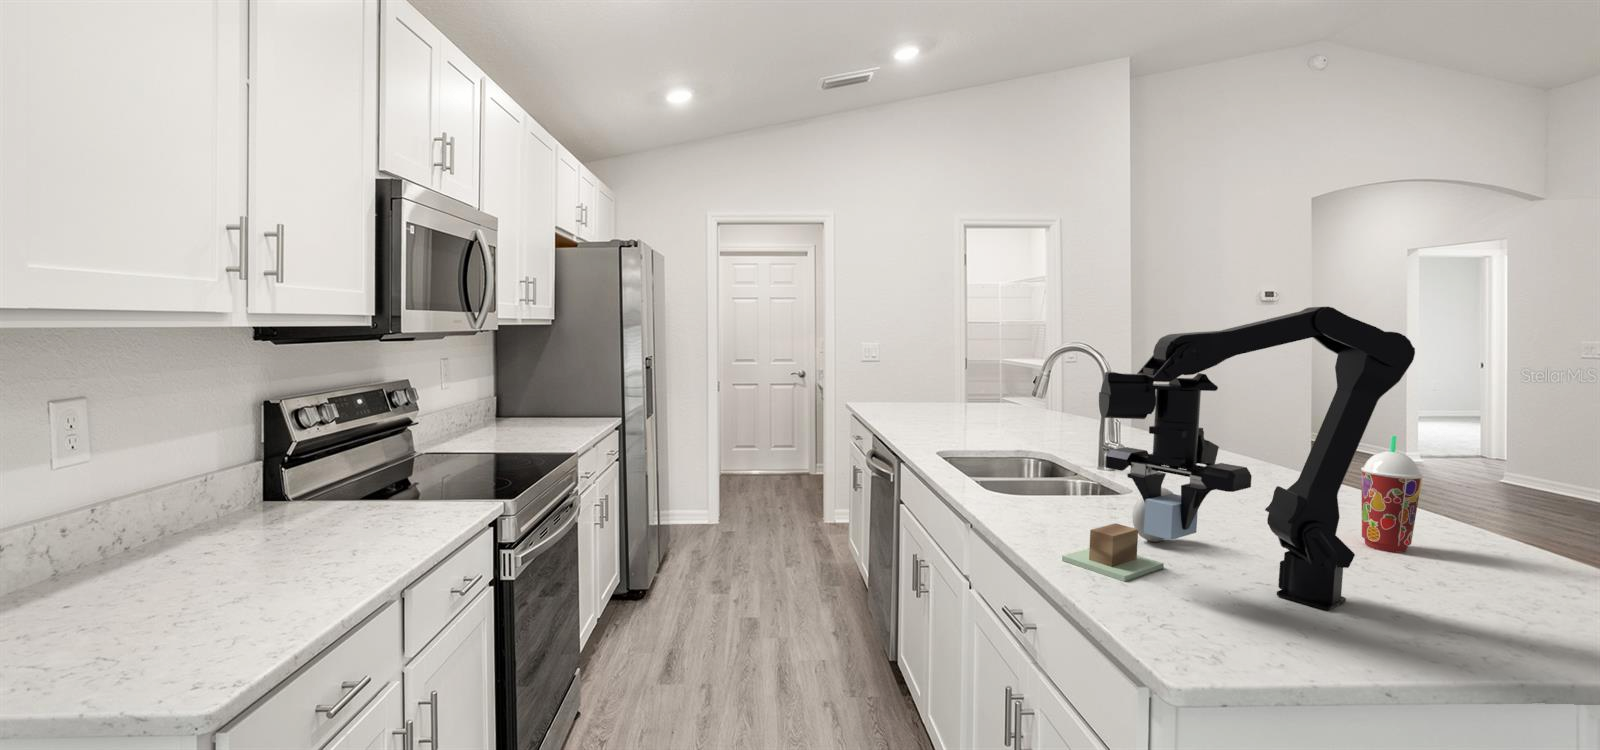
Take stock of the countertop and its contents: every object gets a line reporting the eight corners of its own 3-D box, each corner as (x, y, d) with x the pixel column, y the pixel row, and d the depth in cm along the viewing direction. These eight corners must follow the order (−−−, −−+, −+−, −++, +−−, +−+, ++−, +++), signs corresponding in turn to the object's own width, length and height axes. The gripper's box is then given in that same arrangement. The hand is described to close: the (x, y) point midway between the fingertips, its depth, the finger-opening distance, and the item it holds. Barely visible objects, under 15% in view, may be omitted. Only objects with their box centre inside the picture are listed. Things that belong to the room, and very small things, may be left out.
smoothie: (1429, 555, 121) (1439, 440, 120) (1380, 554, 121) (1389, 439, 120) (1390, 540, 130) (1398, 432, 128) (1344, 539, 130) (1351, 432, 128)
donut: (1141, 547, 124) (1144, 491, 123) (1126, 541, 127) (1128, 486, 127) (1183, 541, 128) (1186, 487, 127) (1167, 535, 131) (1170, 482, 130)
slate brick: (1196, 532, 104) (1198, 499, 104) (1170, 540, 100) (1172, 505, 100) (1169, 525, 107) (1171, 493, 107) (1143, 532, 103) (1145, 499, 103)
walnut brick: (1136, 559, 115) (1138, 529, 115) (1111, 567, 111) (1113, 536, 111) (1114, 552, 119) (1115, 523, 118) (1089, 559, 115) (1090, 529, 114)
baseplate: (1163, 567, 114) (1163, 563, 114) (1124, 581, 108) (1124, 576, 107) (1101, 549, 123) (1101, 544, 123) (1062, 560, 117) (1062, 555, 117)
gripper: (1273, 424, 99) (1266, 533, 100) (1145, 409, 115) (1140, 504, 116) (1234, 431, 93) (1227, 546, 94) (1105, 414, 108) (1100, 513, 110)
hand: (1170, 525), depth 104 cm, fingers closed on slate brick, 4 cm apart
